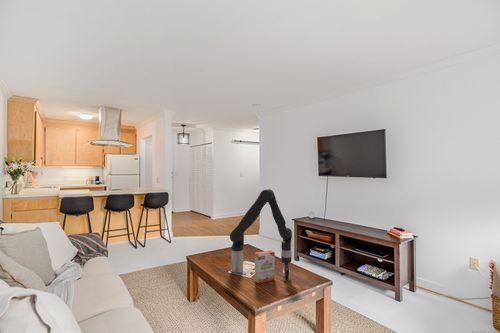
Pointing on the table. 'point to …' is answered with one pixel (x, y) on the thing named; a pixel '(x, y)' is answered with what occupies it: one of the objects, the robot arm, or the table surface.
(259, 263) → the cracker box
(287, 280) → the metal block
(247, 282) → the table surface
